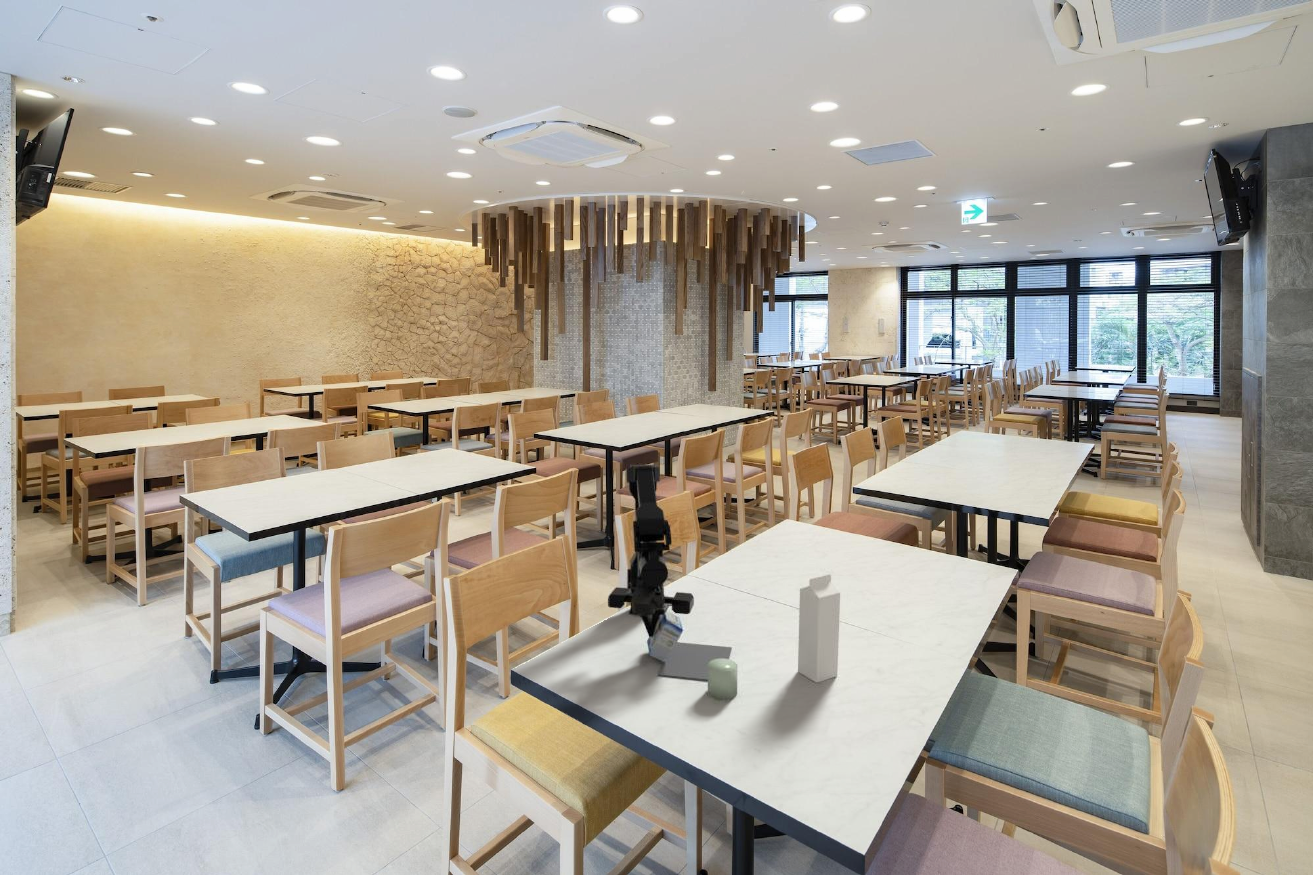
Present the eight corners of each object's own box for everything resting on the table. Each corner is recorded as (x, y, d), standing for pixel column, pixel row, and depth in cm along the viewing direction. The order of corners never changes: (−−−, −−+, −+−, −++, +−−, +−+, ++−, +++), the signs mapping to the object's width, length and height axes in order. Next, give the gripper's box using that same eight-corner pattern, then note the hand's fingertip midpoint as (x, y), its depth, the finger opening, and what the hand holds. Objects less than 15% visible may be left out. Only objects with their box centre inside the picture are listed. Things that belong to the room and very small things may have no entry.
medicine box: (646, 641, 161) (663, 608, 160) (663, 649, 161) (680, 616, 161) (648, 655, 153) (666, 621, 152) (666, 663, 153) (684, 629, 153)
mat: (657, 675, 149) (657, 674, 149) (672, 642, 164) (672, 641, 164) (722, 682, 146) (722, 681, 146) (731, 648, 161) (731, 647, 161)
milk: (837, 676, 148) (841, 578, 144) (816, 683, 145) (820, 583, 141) (817, 664, 153) (821, 569, 150) (796, 671, 150) (800, 574, 147)
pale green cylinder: (705, 698, 139) (705, 670, 138) (710, 683, 145) (710, 657, 144) (735, 702, 138) (735, 674, 137) (738, 686, 144) (739, 660, 143)
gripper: (599, 579, 148) (601, 648, 151) (684, 586, 144) (684, 656, 146) (614, 562, 159) (615, 626, 161) (694, 568, 155) (694, 634, 157)
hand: (651, 636), depth 156 cm, fingers closed
